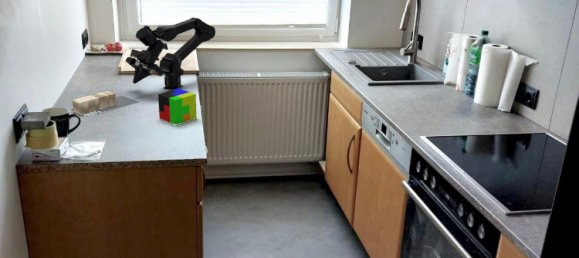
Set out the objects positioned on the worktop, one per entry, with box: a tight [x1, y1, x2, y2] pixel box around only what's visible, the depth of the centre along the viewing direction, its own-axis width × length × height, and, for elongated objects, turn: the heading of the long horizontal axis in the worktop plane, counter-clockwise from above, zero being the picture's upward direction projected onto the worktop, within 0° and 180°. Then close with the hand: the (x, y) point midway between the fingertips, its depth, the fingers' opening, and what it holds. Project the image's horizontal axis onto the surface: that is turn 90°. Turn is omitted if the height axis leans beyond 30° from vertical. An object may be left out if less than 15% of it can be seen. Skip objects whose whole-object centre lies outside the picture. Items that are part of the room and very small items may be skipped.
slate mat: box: [70, 95, 139, 113], centre depth 214 cm, size 24×12×1 cm, turn 143°
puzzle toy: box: [157, 88, 198, 125], centre depth 204 cm, size 10×10×10 cm
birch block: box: [72, 90, 117, 116], centre depth 210 cm, size 5×5×16 cm
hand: (133, 83), depth 223 cm, fingers closed
